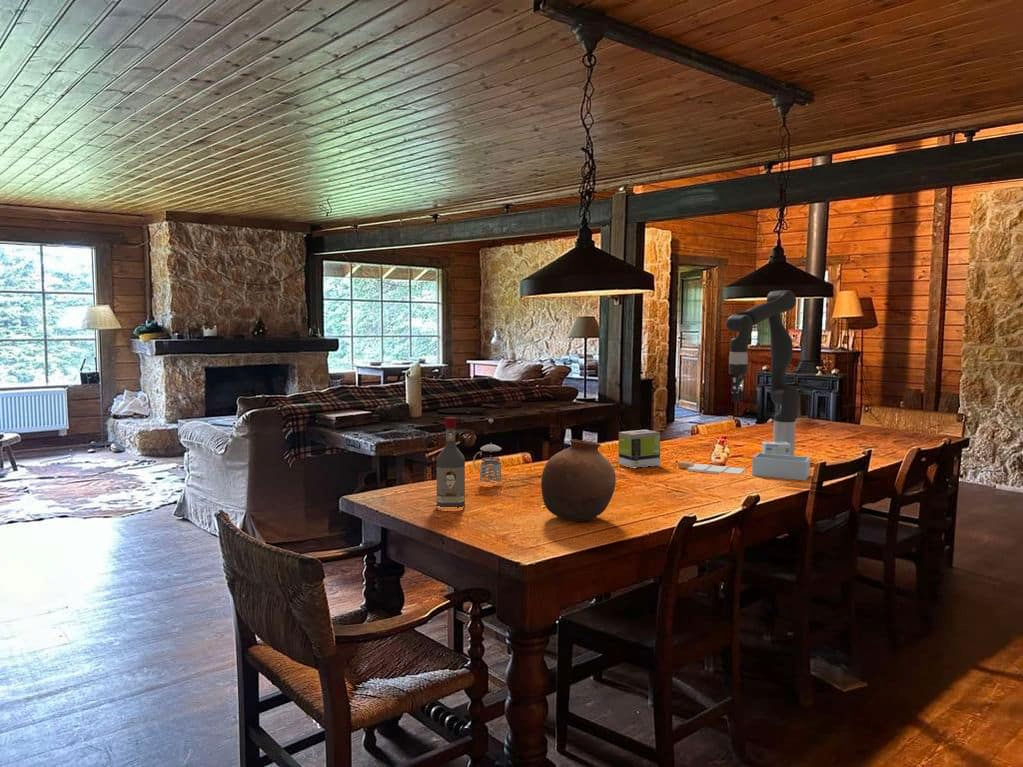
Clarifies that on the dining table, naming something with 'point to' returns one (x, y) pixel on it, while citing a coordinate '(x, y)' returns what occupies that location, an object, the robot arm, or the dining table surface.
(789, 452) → the light bulb box
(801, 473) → the tub
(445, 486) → the liquor
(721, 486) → the dining table surface
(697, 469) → the lid
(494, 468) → the french press
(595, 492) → the pottery
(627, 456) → the tea box
